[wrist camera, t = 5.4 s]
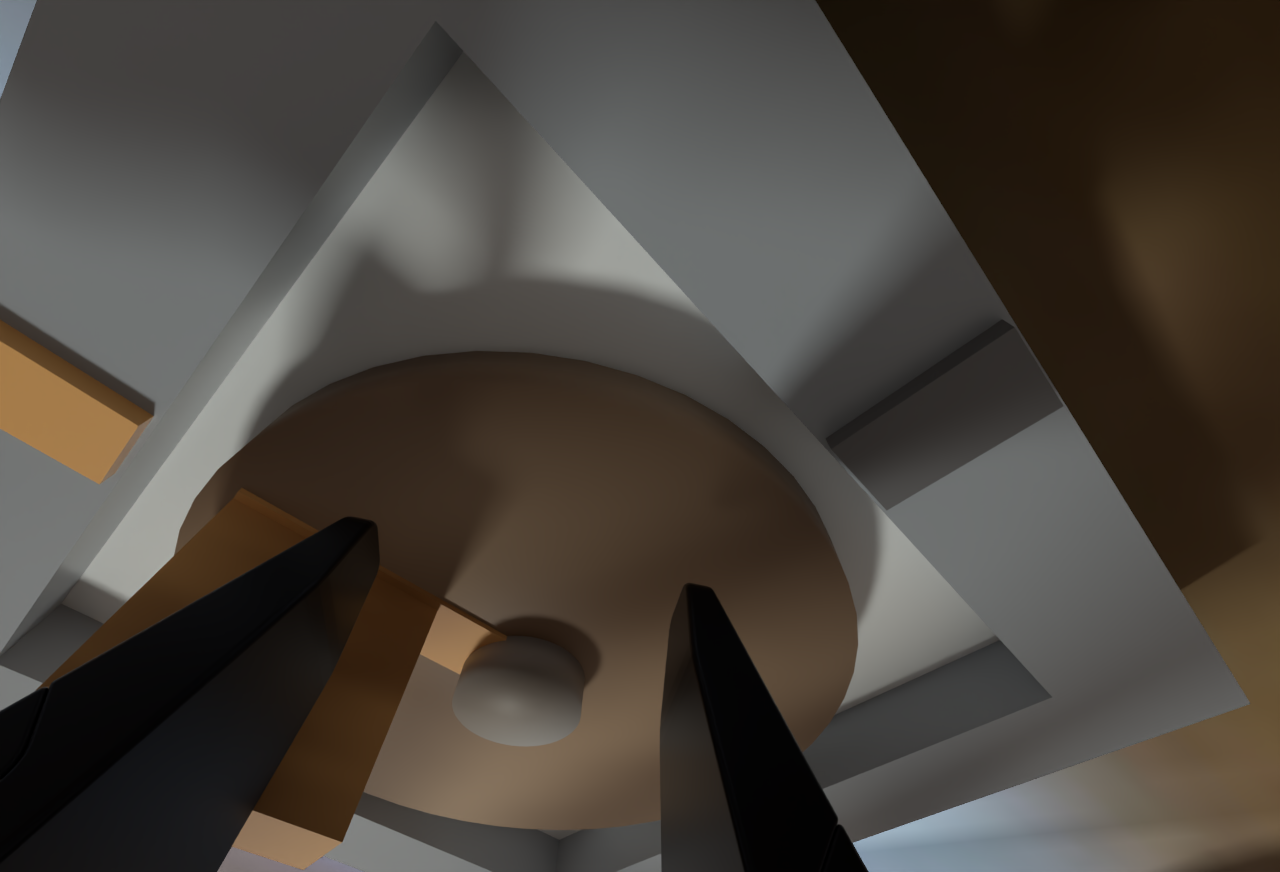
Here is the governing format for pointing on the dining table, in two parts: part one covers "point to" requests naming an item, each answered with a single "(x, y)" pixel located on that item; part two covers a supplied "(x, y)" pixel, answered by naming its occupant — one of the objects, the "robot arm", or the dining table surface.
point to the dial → (511, 587)
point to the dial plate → (563, 344)
